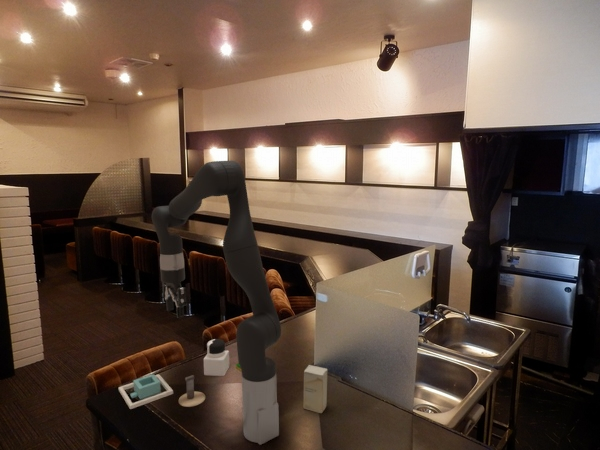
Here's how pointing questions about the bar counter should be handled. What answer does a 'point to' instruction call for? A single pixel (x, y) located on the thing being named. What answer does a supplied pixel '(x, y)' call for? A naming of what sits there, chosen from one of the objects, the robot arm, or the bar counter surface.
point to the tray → (147, 400)
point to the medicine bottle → (216, 358)
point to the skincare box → (315, 388)
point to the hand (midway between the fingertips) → (175, 313)
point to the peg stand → (191, 394)
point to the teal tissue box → (146, 387)
